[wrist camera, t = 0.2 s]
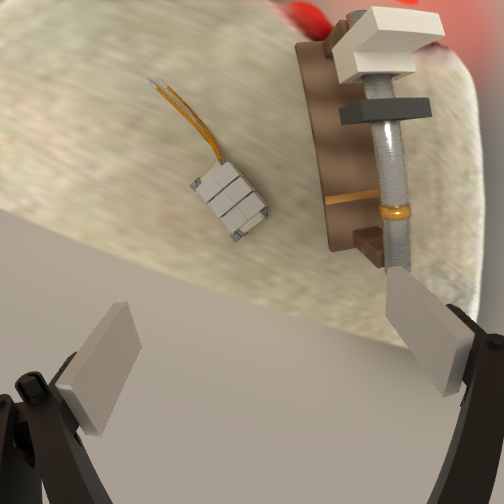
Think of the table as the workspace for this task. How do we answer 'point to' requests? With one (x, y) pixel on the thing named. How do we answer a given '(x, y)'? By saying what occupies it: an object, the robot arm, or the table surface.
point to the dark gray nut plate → (384, 110)
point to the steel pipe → (389, 170)
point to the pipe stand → (342, 152)
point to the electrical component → (225, 185)
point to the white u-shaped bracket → (384, 43)
